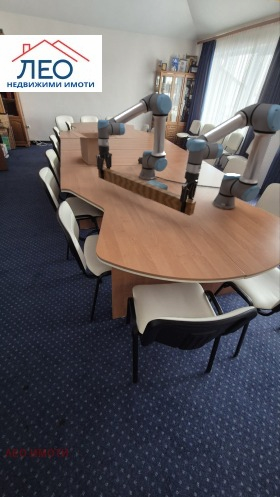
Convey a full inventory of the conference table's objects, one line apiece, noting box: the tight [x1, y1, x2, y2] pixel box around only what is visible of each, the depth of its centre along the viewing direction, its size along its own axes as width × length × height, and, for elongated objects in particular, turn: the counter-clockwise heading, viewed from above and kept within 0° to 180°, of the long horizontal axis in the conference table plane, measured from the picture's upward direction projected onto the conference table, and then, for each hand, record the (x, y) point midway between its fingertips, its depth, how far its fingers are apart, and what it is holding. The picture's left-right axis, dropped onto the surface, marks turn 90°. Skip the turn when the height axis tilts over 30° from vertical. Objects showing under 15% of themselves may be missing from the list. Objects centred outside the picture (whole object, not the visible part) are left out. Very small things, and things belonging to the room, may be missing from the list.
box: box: [70, 129, 114, 166], centre depth 229 cm, size 44×36×27 cm
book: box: [145, 179, 169, 191], centre depth 177 cm, size 23×16×5 cm
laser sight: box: [137, 156, 143, 165], centre depth 237 cm, size 10×22×10 cm, turn 78°
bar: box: [97, 166, 197, 216], centre depth 149 cm, size 83×4×8 cm, turn 48°
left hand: (104, 177), depth 169 cm, fingers closed on bar, 4 cm apart
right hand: (184, 210), depth 132 cm, fingers closed on bar, 5 cm apart
